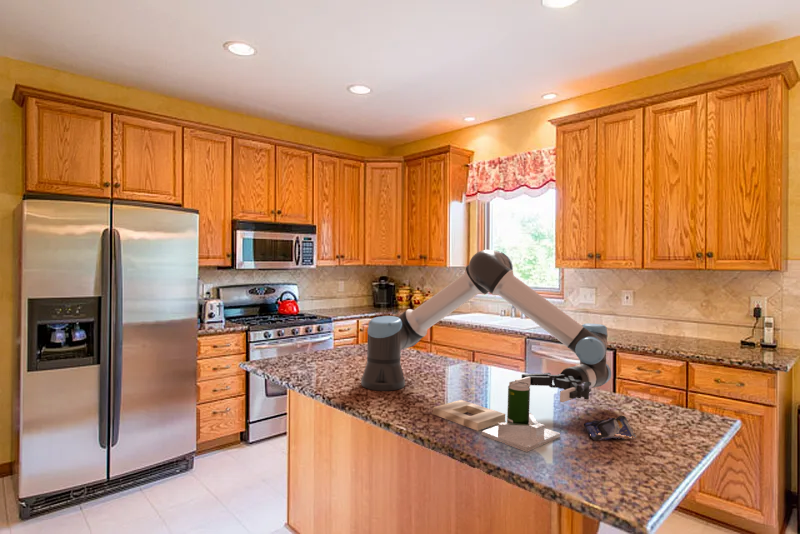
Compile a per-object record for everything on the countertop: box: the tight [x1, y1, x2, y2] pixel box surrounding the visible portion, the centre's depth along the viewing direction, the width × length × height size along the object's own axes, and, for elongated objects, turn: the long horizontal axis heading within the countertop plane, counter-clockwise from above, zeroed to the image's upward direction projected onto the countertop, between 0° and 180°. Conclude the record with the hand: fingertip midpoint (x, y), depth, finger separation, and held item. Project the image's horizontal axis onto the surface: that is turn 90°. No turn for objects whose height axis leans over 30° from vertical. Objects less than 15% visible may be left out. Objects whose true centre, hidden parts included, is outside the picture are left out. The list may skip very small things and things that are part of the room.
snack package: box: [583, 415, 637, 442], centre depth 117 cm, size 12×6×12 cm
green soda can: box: [506, 380, 531, 424], centre depth 116 cm, size 5×5×12 cm
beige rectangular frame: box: [432, 399, 506, 432], centre depth 128 cm, size 16×12×2 cm
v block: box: [481, 412, 561, 453], centre depth 115 cm, size 13×15×4 cm
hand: (537, 390), depth 121 cm, fingers open, 13 cm apart
